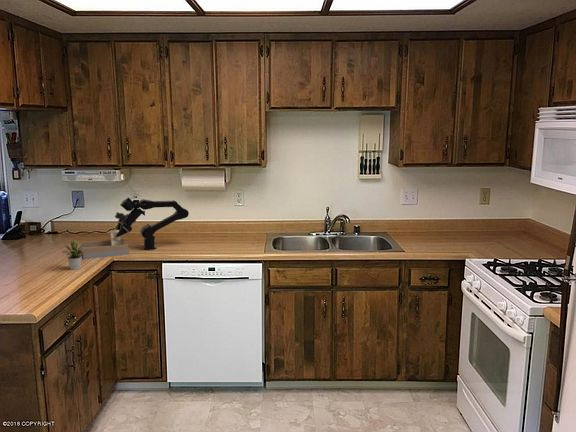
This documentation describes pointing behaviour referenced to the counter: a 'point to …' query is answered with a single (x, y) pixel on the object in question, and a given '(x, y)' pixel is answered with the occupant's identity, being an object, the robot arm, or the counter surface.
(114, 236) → the block
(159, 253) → the counter surface
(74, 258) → the house plant
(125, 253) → the channel
